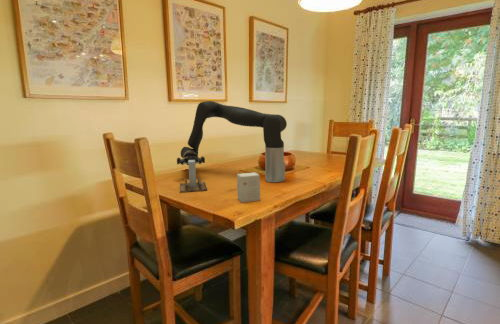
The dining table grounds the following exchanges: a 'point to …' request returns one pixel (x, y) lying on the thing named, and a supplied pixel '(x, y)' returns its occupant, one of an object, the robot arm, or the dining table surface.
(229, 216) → the dining table surface
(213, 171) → the dining table surface
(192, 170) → the grey rectangular block
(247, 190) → the small box
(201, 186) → the rack
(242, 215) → the dining table surface
